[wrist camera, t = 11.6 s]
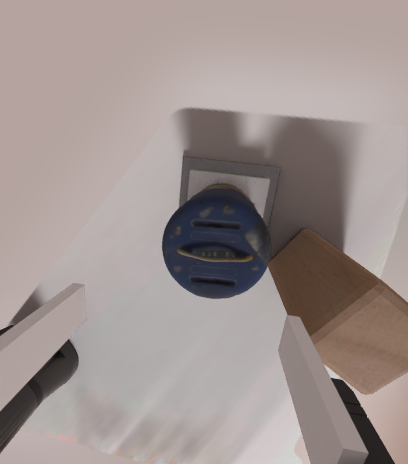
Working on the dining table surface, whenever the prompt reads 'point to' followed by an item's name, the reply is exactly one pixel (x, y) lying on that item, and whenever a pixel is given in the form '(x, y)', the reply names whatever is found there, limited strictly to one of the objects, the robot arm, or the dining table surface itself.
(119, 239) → the dining table surface
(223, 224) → the canister
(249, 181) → the stand
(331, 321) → the block
